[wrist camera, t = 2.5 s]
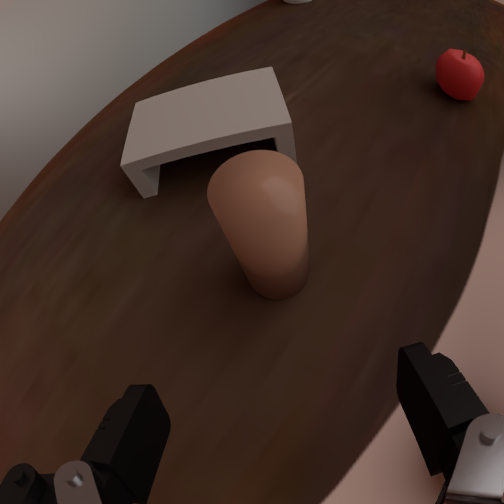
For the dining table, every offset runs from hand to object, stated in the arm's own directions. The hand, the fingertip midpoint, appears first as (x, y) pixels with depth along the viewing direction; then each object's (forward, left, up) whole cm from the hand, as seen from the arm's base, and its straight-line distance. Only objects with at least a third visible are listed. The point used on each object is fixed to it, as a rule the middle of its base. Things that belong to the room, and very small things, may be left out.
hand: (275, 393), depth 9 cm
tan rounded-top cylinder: (0, +11, -16) cm, 19 cm away
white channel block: (-5, +29, -16) cm, 34 cm away
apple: (+32, +34, -16) cm, 50 cm away
